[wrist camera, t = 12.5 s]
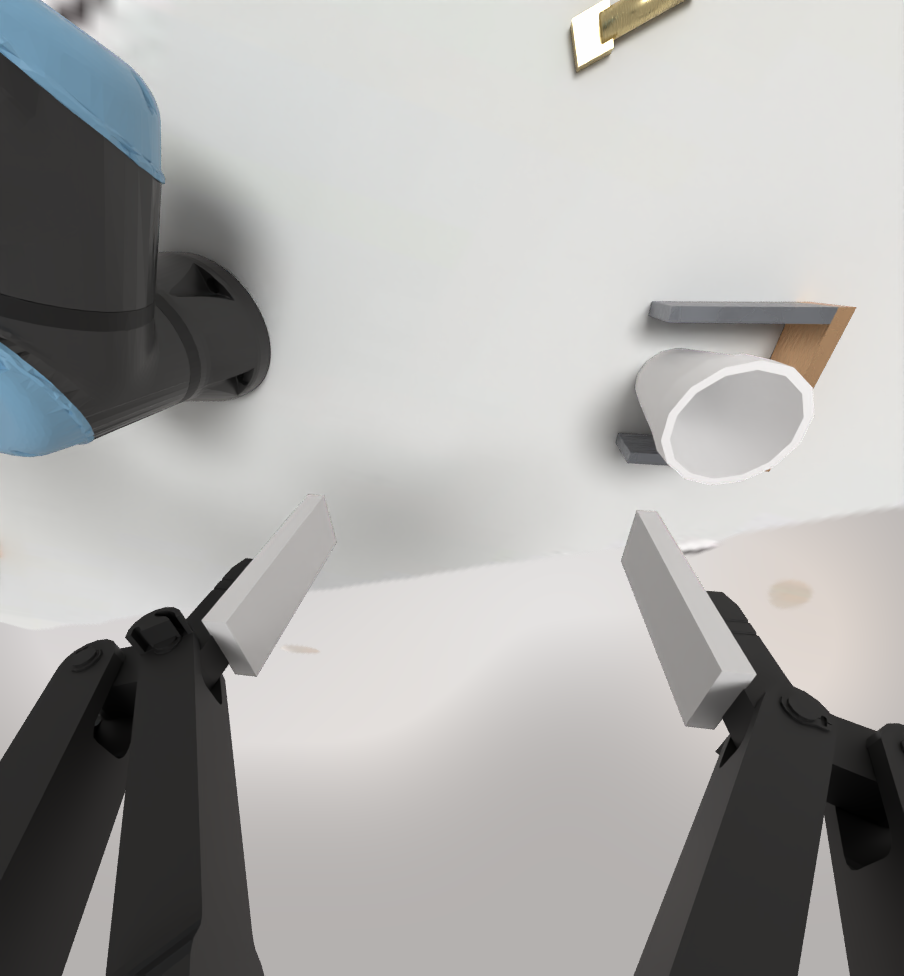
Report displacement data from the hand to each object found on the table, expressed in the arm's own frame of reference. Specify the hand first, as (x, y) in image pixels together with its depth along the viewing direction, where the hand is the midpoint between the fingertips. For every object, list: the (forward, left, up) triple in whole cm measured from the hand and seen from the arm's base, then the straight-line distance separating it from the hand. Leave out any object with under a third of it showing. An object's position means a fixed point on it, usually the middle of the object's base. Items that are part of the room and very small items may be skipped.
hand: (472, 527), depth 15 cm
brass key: (+8, +25, -28) cm, 38 cm away
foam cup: (+17, 0, -28) cm, 33 cm away
